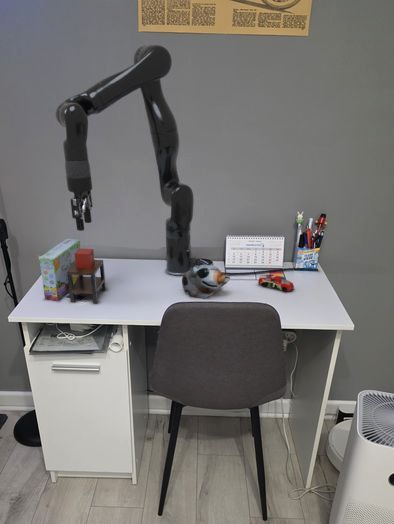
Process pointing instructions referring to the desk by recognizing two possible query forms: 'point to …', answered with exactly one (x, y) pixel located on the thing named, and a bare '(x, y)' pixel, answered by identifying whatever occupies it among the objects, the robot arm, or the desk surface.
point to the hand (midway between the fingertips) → (84, 226)
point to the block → (84, 258)
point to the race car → (275, 282)
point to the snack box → (58, 268)
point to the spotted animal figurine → (203, 281)
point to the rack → (86, 280)
